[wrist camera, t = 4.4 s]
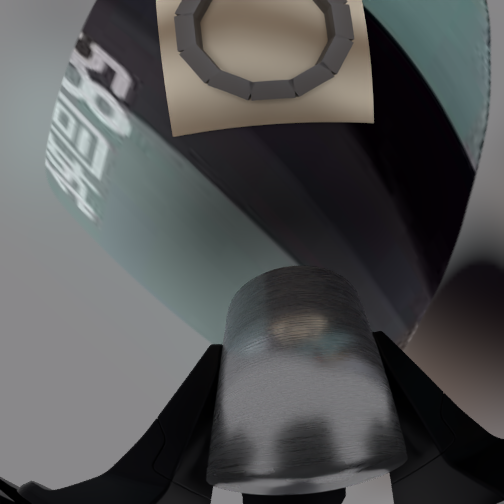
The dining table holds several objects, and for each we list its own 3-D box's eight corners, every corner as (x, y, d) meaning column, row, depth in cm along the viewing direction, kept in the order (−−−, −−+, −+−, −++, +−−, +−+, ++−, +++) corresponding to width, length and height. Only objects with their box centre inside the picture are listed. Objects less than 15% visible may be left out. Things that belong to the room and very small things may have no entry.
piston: (350, 354, 11) (376, 481, 6) (237, 362, 12) (226, 494, 6) (370, 259, 8) (442, 432, 3) (215, 271, 9) (177, 460, 4)
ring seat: (370, 122, 15) (385, 126, 13) (175, 135, 16) (163, 142, 14) (348, -40, 8) (359, -54, 6) (157, -26, 9) (143, -39, 7)
